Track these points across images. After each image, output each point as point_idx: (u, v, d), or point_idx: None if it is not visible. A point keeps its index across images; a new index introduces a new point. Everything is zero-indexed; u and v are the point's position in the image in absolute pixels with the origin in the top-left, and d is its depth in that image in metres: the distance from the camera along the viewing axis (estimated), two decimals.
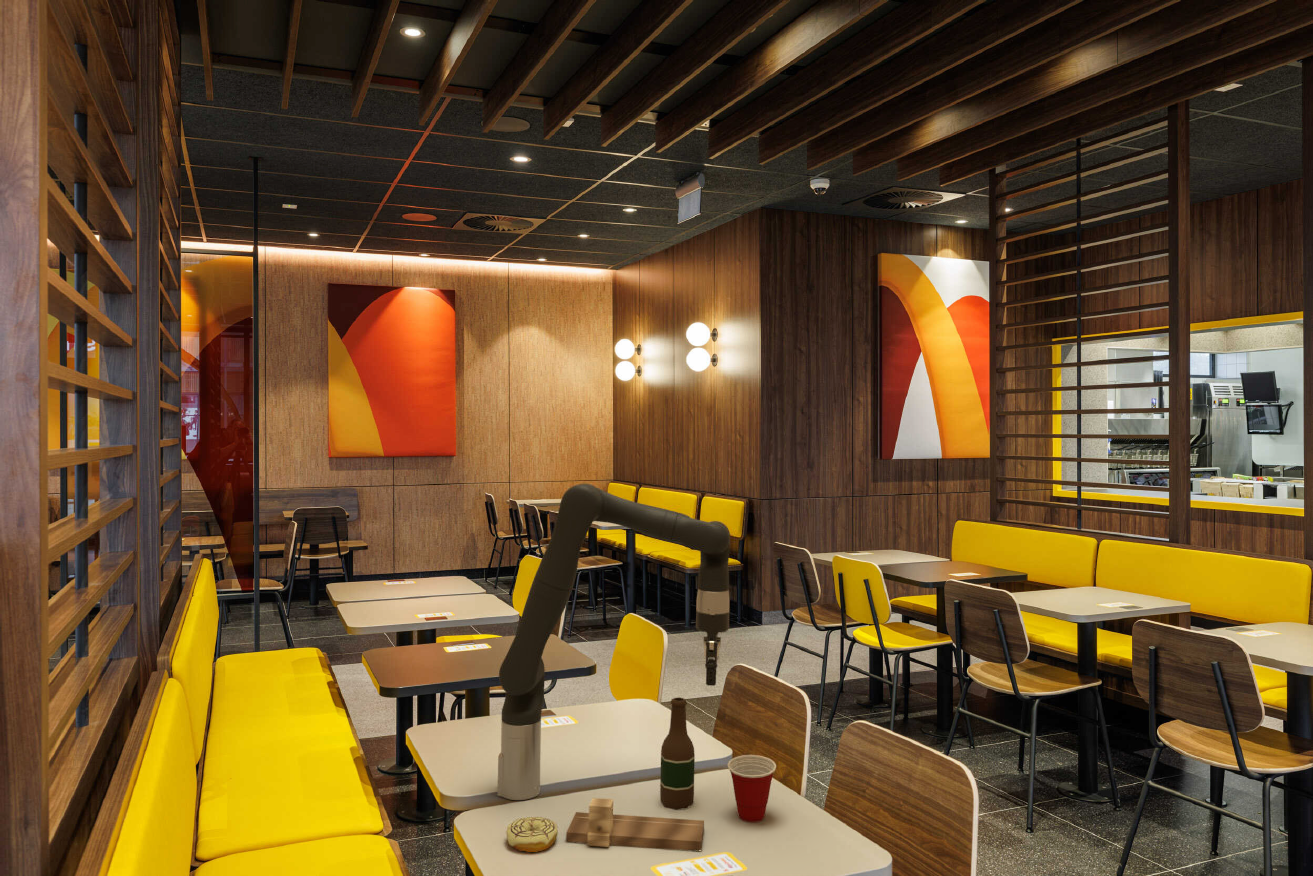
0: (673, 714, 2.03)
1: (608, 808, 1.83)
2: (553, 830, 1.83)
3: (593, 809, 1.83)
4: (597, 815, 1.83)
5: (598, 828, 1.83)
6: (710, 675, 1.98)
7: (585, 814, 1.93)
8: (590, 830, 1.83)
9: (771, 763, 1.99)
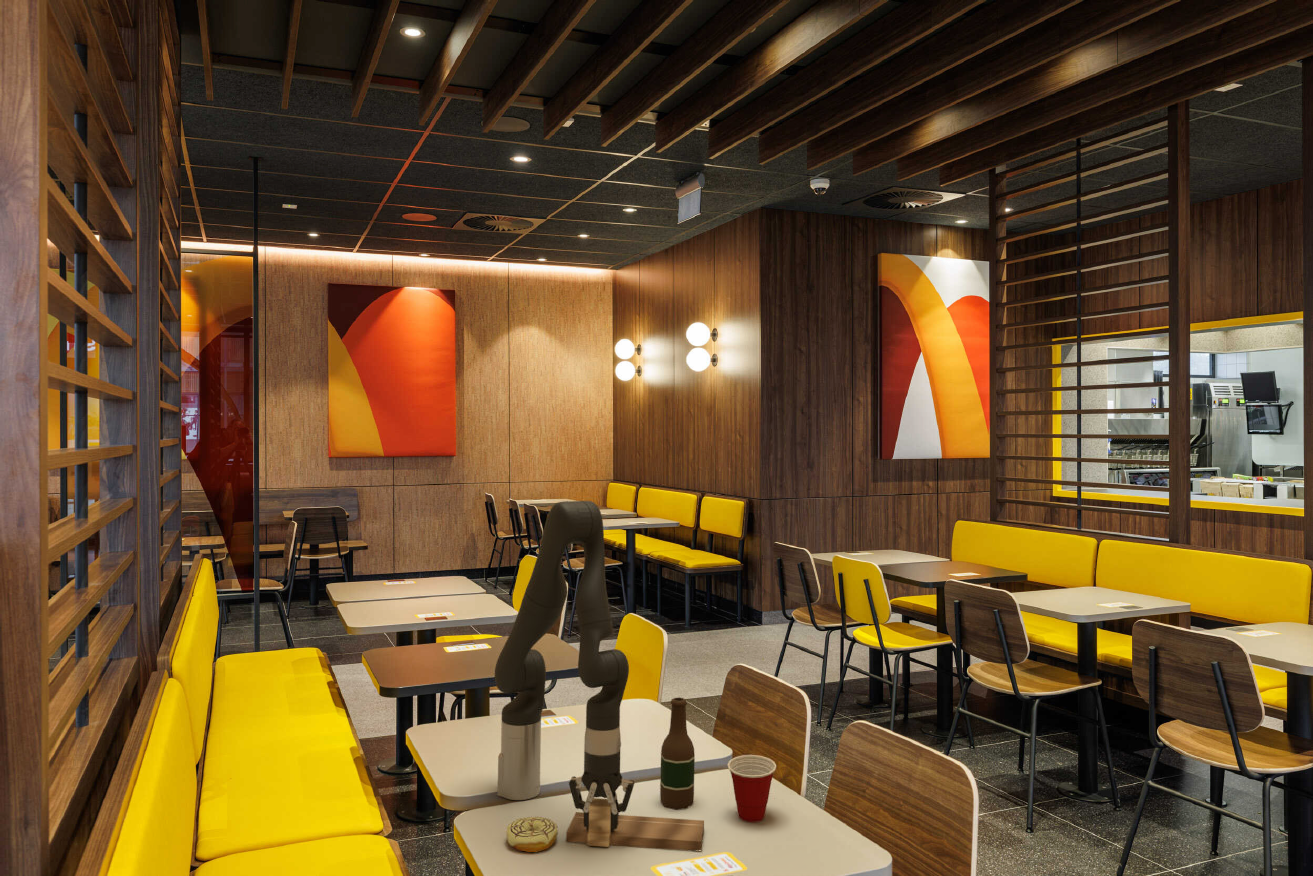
0: (673, 714, 2.03)
1: (608, 808, 1.83)
2: (553, 830, 1.83)
3: (593, 809, 1.83)
4: (597, 815, 1.83)
5: (598, 828, 1.83)
6: None
7: None
8: (590, 830, 1.83)
9: (771, 763, 1.99)
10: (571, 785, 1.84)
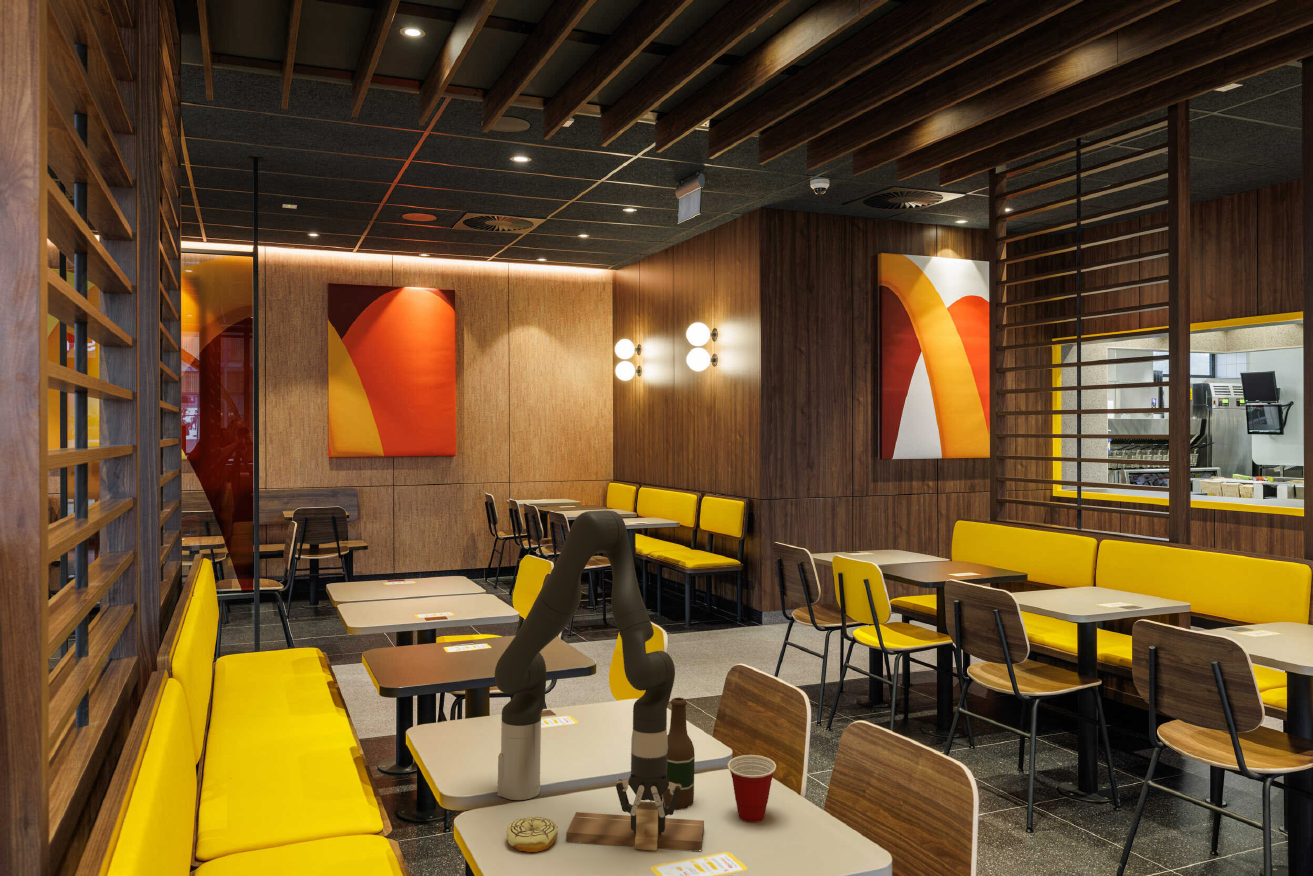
0: (673, 714, 2.03)
1: (655, 811, 1.81)
2: (553, 830, 1.83)
3: (641, 812, 1.82)
4: (644, 818, 1.82)
5: (645, 831, 1.81)
6: None
7: (585, 814, 1.93)
8: (638, 833, 1.82)
9: (771, 763, 1.99)
10: (618, 788, 1.83)
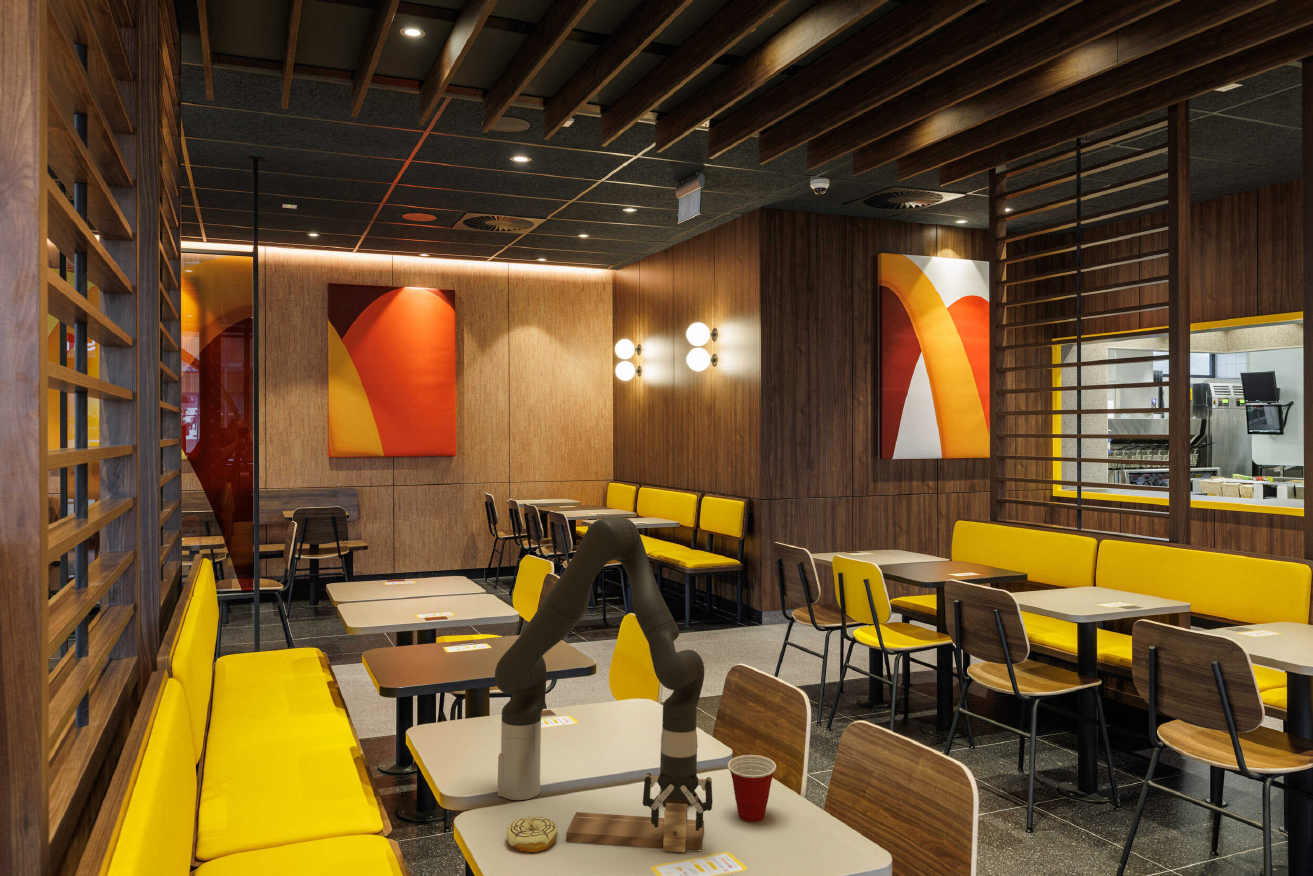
0: None
1: (684, 813, 1.81)
2: (553, 830, 1.83)
3: (669, 814, 1.81)
4: (672, 820, 1.81)
5: (674, 834, 1.81)
6: None
7: (585, 814, 1.93)
8: (666, 835, 1.81)
9: (771, 763, 1.99)
10: (646, 782, 1.82)
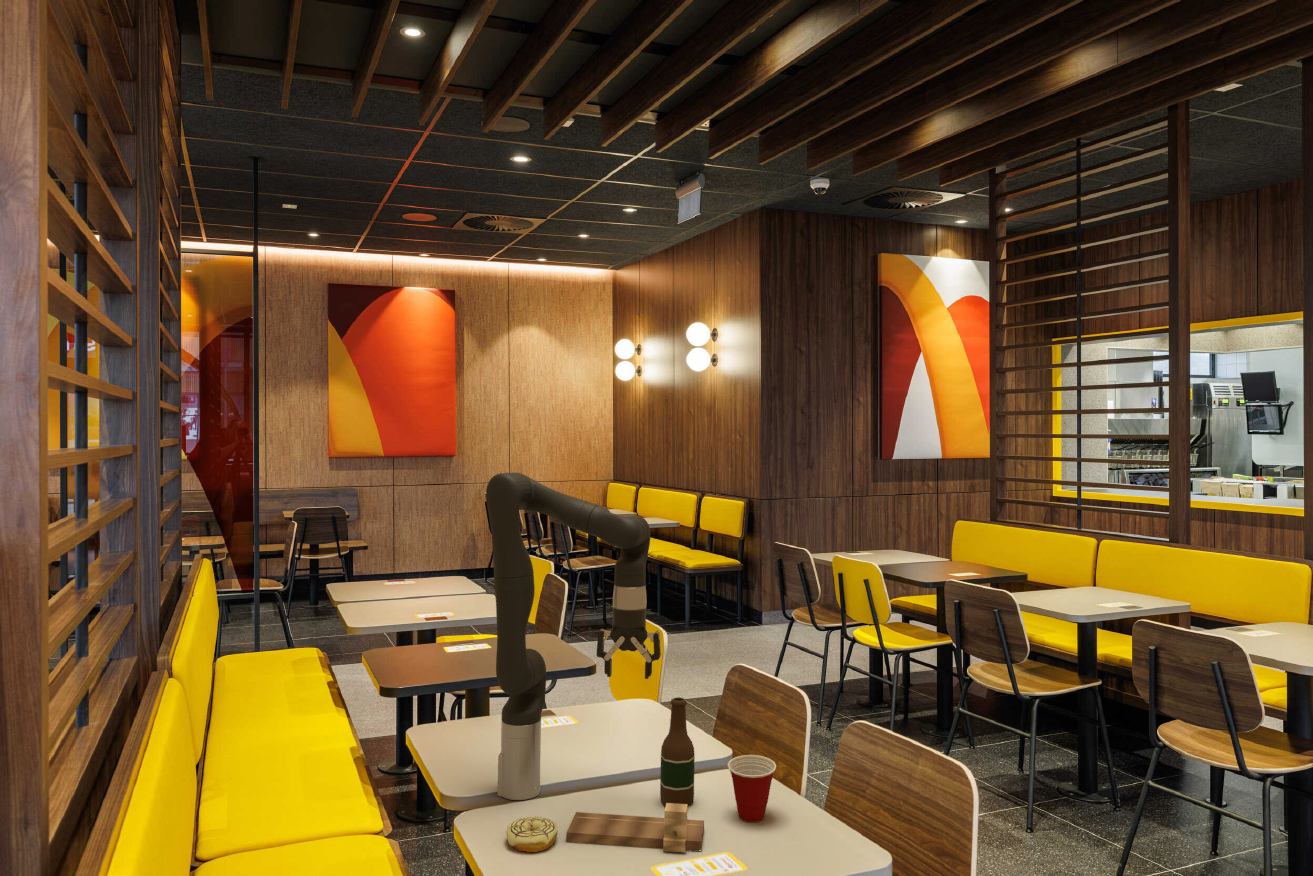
0: (673, 714, 2.03)
1: (684, 813, 1.81)
2: (553, 830, 1.83)
3: (669, 814, 1.81)
4: (672, 820, 1.81)
5: (674, 834, 1.81)
6: None
7: (585, 814, 1.93)
8: (666, 835, 1.81)
9: (771, 763, 1.99)
10: (599, 635, 1.99)
